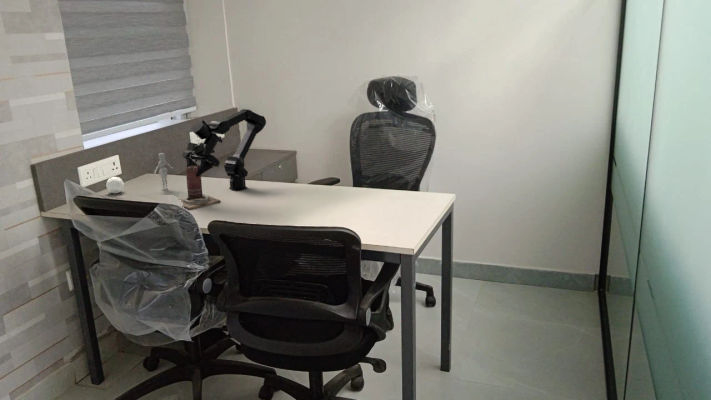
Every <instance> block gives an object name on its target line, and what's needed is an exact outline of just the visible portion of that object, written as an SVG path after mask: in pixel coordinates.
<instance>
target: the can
mask: <svg viewBox="0 0 711 400" xmlns="http://www.w3.org/2000/svg"><path fill="white" fill-rule="evenodd" d="M199 167H200V165H199V164H197V165H189V166H187V165H186V166H185V173H186V174H185V176H186V186H187V190H186V191H187V197H189V198H190V199H198V198H201V197H202V194H203V185H202V184H203V183H202V174H201V175H200V176H198V177H197V176H196V173H197V171H198V169H199Z"/></svg>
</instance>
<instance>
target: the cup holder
mask: <svg viewBox="0 0 711 400" xmlns="http://www.w3.org/2000/svg"><path fill="white" fill-rule="evenodd" d="M179 200H181V202H182V203H183V206H184V207H185V208H184V207H183V208H184V209H186V208H187V209H186V210H189V211H190V210H194V209H199V208H202V207H208V206H211V205H214V204H220V203H221V199H217V198H215V197H213V196H210V195H207V194H204V193H202V197H201V198H198V199H190V198H189V197H188V196H185V197H184V198H180V199H179Z"/></svg>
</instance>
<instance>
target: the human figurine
mask: <svg viewBox="0 0 711 400" xmlns="http://www.w3.org/2000/svg"><path fill="white" fill-rule="evenodd" d="M157 156H158V158H159V161H158V164H157V166H156V167H155V170H154V171H153V175H156V173H157V170H158V169H159V172H158V175H159V176H160V178H161V182H162V191H163V192H165V191H168V189H169V188H168V180H167V178H168V168H166V167H165V165H167V166H169V167H170V168H171V169H174V167H173V166H171V164H169V163H168V162H167V160H166V153H165V152H160V153H158V155H157Z"/></svg>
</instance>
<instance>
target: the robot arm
mask: <svg viewBox="0 0 711 400" xmlns="http://www.w3.org/2000/svg"><path fill="white" fill-rule="evenodd" d="M241 122H246V131H245V133H244V135H243V136H242V139H241V140H240V143H239V144H238V146H237V149H236V150H235V152H234V154H233V155H228V156H227V158H226V160H225V162H224V166H223V167H224V171H225V173H226V175H227V177H229V189H230V190H232V191H235V192H236V191H242V190H245V189H248V186H247V185H246V184H247V183H246V177H247V176H248V170H247V169H246V168H245V158H246V156H247V154H248V152H249V150H250V148H251V146H252V144H253V142H254V141H255V139H256V136H257V135H258V134H259V133H260V132H261V131H263V129H264V128H265V126H266V124H267V120H266V117H265V116H263V115H260V114H259V113H257V112H256V113H255V112H254V111H252V110H251V109H247V108H243V109H240V111H237V112H235V113H234V114H231V115H229V116H227V117H225V118H221V119H219V118H218V119H214V120H211V121H210V123H208V124H207V122H206V121H205V120H204V119H199V120H198V121H196V122H195V123H194V124H193V125H192V126H191V128H190V129H191V131H192V133H193V134H195V135H196V136H197V137H198V138H199V139H200V140H203V141H202V142H201V141H198V142H197V143H194V142H188V143H187V147H186V150H185V151H182V153H181V156H182V158H184V160H186V167H187V166H189V165H198V164H197V162H198V161H199V162H200V165H199V169H198V171H197V173H196V176H197V177H198V176H200V175H201V176H202V174H204V173H206V172H207V171H209V170H211V169H213V168H218V167H219V166H220V160H219V159H218V158H217V157H216V156H215V155H213V154H215V152H216V151H215V148H216V146H217V145H218V143H223V139H222V136H218V135H225V134H226V133H228V132H229V131H230V129H231V128H232V127H234V126H236V125H238V124H239V123H241ZM185 175H186V172H185Z"/></svg>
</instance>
